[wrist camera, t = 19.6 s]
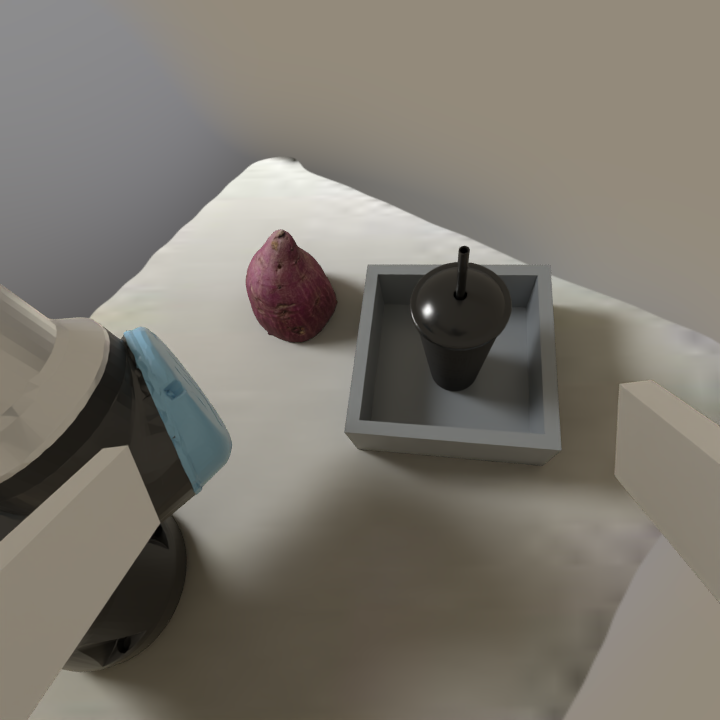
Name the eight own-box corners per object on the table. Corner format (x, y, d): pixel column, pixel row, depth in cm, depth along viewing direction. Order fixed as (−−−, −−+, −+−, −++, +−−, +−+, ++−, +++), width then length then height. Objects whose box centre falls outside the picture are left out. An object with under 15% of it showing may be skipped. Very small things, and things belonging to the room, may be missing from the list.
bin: (357, 448, 44) (344, 432, 38) (376, 299, 51) (367, 264, 45) (542, 465, 41) (561, 450, 34) (535, 302, 47) (550, 264, 41)
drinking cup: (425, 411, 44) (415, 314, 26) (411, 345, 47) (394, 218, 29) (500, 397, 43) (545, 287, 25) (481, 331, 46) (508, 191, 28)
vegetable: (343, 289, 56) (353, 197, 43) (325, 355, 51) (331, 273, 38) (265, 272, 56) (252, 175, 43) (240, 336, 51) (217, 248, 38)
